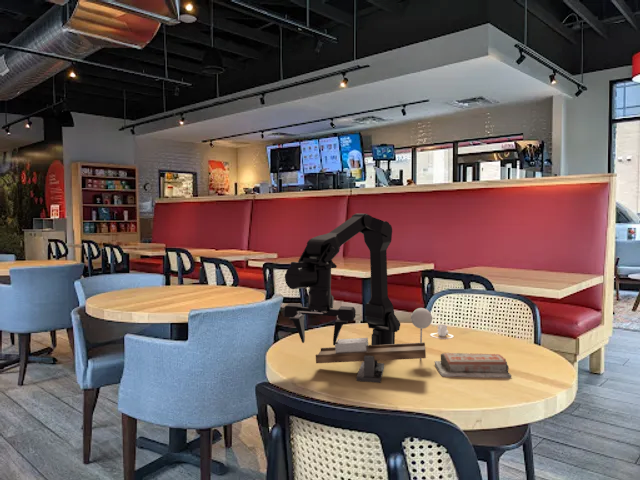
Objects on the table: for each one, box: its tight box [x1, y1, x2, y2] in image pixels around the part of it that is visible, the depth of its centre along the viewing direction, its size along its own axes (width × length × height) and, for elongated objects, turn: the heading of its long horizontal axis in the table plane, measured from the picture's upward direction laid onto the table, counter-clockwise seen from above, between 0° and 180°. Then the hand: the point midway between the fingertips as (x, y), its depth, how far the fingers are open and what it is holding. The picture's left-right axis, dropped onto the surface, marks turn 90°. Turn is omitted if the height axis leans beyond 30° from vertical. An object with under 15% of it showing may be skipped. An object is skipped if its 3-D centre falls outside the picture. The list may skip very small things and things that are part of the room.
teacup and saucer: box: [429, 323, 455, 340], centre depth 173 cm, size 9×8×4 cm
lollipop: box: [410, 307, 433, 361], centre depth 144 cm, size 6×6×15 cm
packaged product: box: [434, 352, 512, 379], centre depth 134 cm, size 18×5×10 cm
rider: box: [334, 337, 370, 354], centre depth 131 cm, size 8×5×3 cm, turn 78°
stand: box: [356, 355, 385, 383], centre depth 131 cm, size 6×13×6 cm, turn 169°
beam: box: [315, 341, 427, 364], centre depth 131 cm, size 28×8×2 cm, turn 79°
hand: (318, 343), depth 133 cm, fingers open, 8 cm apart
